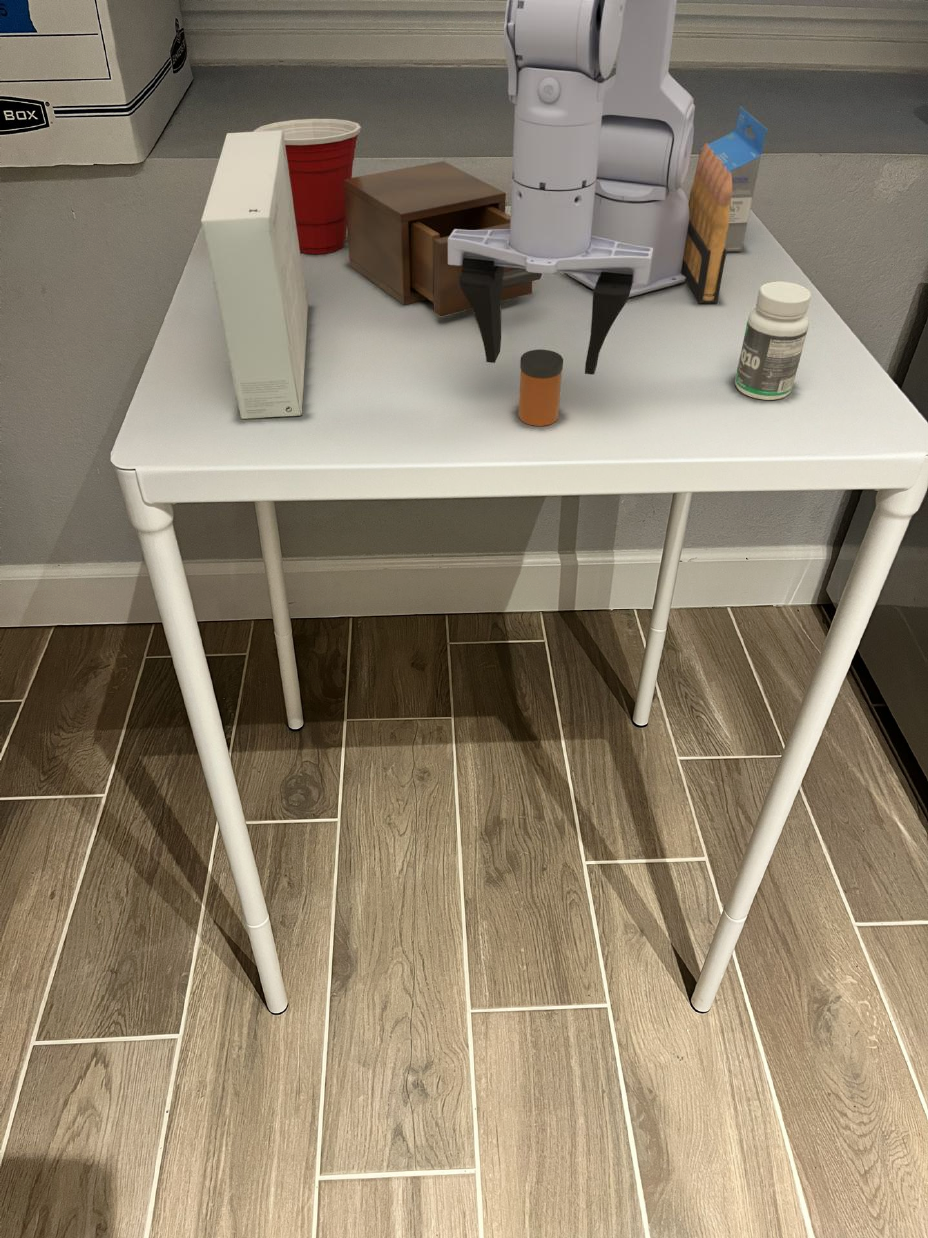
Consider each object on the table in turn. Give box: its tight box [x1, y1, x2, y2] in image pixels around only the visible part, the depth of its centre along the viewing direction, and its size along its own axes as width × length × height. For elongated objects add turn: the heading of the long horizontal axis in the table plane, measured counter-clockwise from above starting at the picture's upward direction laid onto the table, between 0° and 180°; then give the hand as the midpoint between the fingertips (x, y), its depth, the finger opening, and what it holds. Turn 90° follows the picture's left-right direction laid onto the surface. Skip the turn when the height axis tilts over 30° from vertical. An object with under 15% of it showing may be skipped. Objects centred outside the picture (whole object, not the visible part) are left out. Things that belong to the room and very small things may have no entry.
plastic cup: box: [253, 118, 362, 255], centre depth 101 cm, size 11×11×12 cm
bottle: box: [517, 348, 564, 427], centre depth 76 cm, size 3×3×5 cm
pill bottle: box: [734, 281, 812, 401], centre depth 79 cm, size 5×5×8 cm
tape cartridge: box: [697, 106, 769, 254], centre depth 103 cm, size 9×4×12 cm, turn 6°
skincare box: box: [200, 130, 309, 420], centre depth 79 cm, size 21×5×16 cm, turn 5°
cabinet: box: [344, 160, 507, 306], centre depth 96 cm, size 12×12×9 cm
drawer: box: [408, 205, 543, 318], centre depth 91 cm, size 15×10×7 cm
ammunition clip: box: [681, 142, 732, 304], centre depth 94 cm, size 11×2×12 cm, turn 3°
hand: (541, 362), depth 74 cm, fingers open, 7 cm apart
